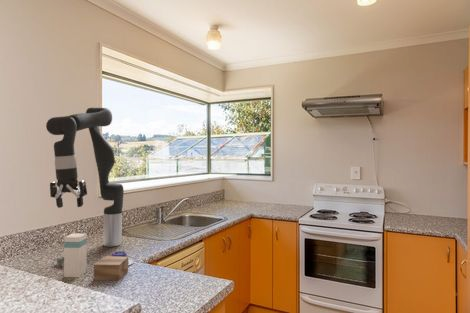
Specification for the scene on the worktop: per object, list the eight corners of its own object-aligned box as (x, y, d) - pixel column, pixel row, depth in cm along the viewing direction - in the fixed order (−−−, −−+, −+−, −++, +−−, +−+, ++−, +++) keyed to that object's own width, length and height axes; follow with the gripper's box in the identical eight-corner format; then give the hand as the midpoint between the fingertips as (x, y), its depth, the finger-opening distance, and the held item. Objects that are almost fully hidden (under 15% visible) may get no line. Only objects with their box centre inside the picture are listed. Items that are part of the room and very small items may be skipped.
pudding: (100, 264, 140) (100, 252, 140) (125, 258, 148) (125, 247, 148) (111, 271, 131) (111, 259, 131) (137, 264, 140) (138, 253, 140)
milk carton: (71, 271, 130) (72, 233, 130) (86, 271, 130) (86, 233, 130) (63, 277, 124) (64, 237, 124) (78, 277, 124) (79, 237, 124)
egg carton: (76, 258, 147) (77, 250, 147) (86, 261, 143) (86, 252, 143) (54, 265, 137) (54, 255, 137) (63, 268, 134) (63, 259, 134)
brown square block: (104, 270, 132) (104, 256, 132) (128, 270, 132) (128, 256, 132) (93, 279, 122) (93, 264, 122) (118, 280, 122) (119, 265, 122)
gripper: (88, 165, 126) (92, 204, 128) (56, 166, 128) (60, 205, 129) (76, 167, 119) (80, 208, 120) (42, 169, 121) (47, 209, 122)
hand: (70, 207), depth 125 cm, fingers open, 8 cm apart
